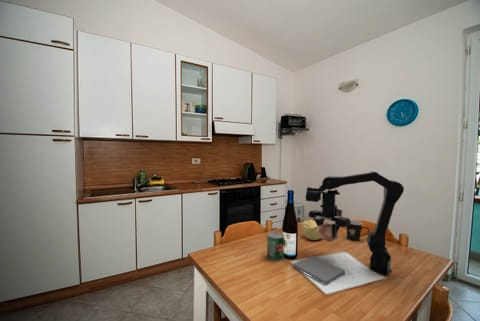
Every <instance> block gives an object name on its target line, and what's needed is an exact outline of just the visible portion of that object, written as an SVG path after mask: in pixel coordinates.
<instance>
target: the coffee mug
mask: <svg viewBox="0 0 480 321" xmlns="http://www.w3.org/2000/svg"><path fill="white" fill-rule="evenodd" d="M350 221H351V225H349V226H346V227H345V230H346V237H347V238H346V239H348V240H349V241H351V242H359V241H361V240H360V239H361V237H363V236H365V235H368V232H369V231H370V229H369V227H367V226H363V223H362V222H361V221H357V220H351V219H350ZM364 228H365V229H367V232H366V233H364V234H361V232H362V230H363V229H364Z"/></svg>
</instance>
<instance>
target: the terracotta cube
mask: <svg viewBox="0 0 480 321" xmlns="http://www.w3.org/2000/svg"><path fill="white" fill-rule="evenodd" d="M338 233H339V231H338V232H337V234H336V237H335V238H333V234H332V224H330V223H325V222H324V224H322V225H319V238H321V240H324V241H326V242H328V243H331V242H333V241H336V240H338Z"/></svg>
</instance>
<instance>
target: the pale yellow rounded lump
mask: <svg viewBox="0 0 480 321" xmlns="http://www.w3.org/2000/svg"><path fill="white" fill-rule="evenodd" d="M301 229H302V232H303V236H304V237H305V238H307V239H308V240H311V241H317V240H318V241H319V240H320V239H321V238H319V228H318V226H317V224H316V222H315V220H313V219H309V220H304V221H303V222H301ZM321 240H322V239H321Z"/></svg>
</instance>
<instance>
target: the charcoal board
mask: <svg viewBox="0 0 480 321" xmlns="http://www.w3.org/2000/svg"><path fill="white" fill-rule="evenodd" d="M292 268H294V269H295V270H297V271H299V270H301V271H303V272H305V273H307V274H309V275H311V276H312V277H314V278H315V279H317V280H318V281H320V282H322V283H324V284H325V285H326V284H327V285H329V284H330V283H329V282H331V281H332V282H334V281H335V279H336V278H338V277H339V278H341V277H343V276H345V275H346V270H344V269H342V267H341V268H340V267H338V266H337V265H333V264H332V263H330V262H327V261H326V260H323V259H321V258H319V257H317V256H314V255H310V256H307V257H306V258H303V259H301V260H299V261H297V262H294V263H293V264H292ZM301 271H300V272H301ZM342 275H343V276H342ZM340 276H341V277H340ZM339 278H338V279H339ZM315 279H314V280H315ZM317 280H316V281H317ZM333 280H334V281H333ZM336 280H337V279H336ZM318 281H317V282H318ZM320 282H319V283H320ZM332 282H331V283H332ZM322 283H321V284H322ZM328 283H329V284H328ZM324 284H323V285H324ZM325 285H324V286H325ZM327 285H326V286H327Z"/></svg>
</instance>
